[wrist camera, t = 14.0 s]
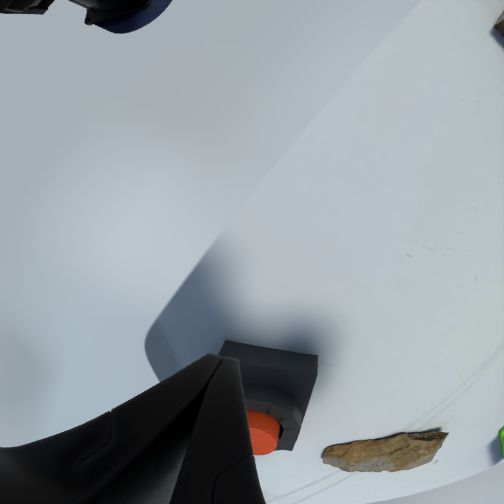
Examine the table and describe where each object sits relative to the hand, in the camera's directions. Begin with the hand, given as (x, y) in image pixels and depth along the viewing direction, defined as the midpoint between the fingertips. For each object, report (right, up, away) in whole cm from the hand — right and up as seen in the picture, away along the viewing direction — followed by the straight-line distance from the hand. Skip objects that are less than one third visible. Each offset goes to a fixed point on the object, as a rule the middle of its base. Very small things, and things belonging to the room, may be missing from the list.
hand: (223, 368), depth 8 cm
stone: (+14, -16, +15) cm, 27 cm away
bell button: (+1, -10, +12) cm, 15 cm away
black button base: (+2, -9, +15) cm, 18 cm away
